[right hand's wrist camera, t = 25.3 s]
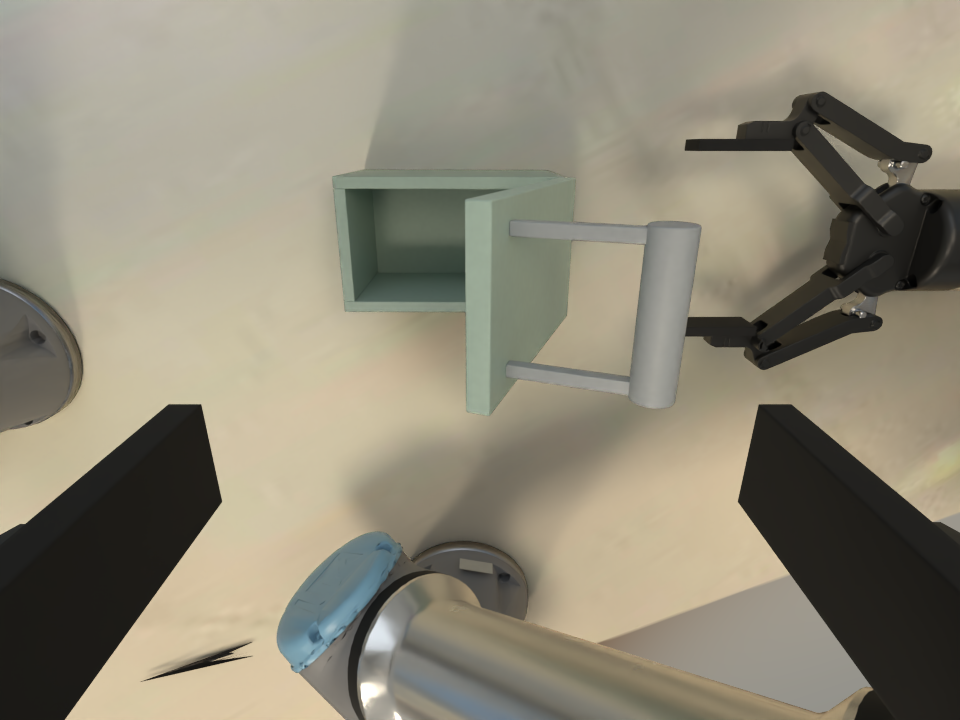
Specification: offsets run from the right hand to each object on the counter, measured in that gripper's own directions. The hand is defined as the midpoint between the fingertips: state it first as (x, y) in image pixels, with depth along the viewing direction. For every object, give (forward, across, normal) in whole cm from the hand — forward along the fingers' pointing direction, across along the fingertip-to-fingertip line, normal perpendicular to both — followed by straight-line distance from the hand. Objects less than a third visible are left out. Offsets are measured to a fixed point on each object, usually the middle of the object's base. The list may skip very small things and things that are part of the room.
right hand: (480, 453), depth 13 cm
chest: (+39, +2, 0) cm, 39 cm away
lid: (+20, -2, 0) cm, 20 cm away
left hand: (+30, -15, 0) cm, 34 cm away
